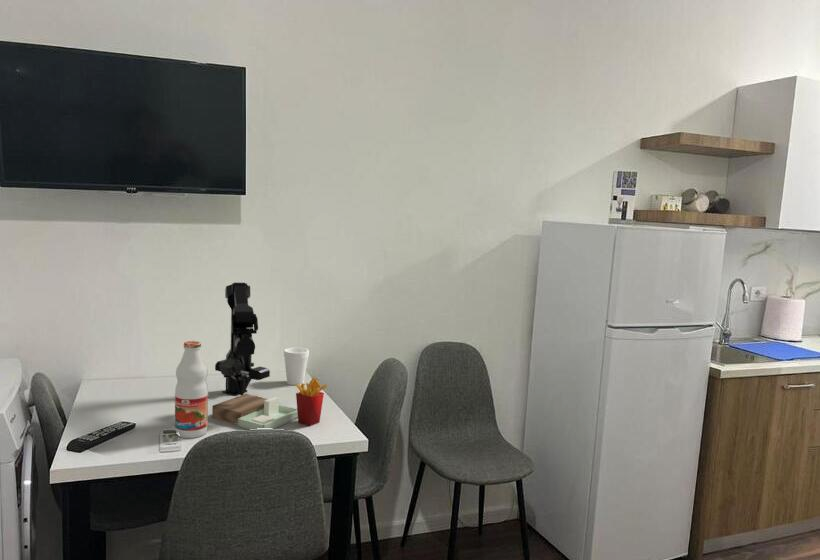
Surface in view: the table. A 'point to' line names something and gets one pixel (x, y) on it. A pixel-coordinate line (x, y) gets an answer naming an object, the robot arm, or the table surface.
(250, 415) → the tray
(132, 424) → the table surface
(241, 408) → the board
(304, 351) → the foam cup
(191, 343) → the fruit juice
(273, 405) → the tile
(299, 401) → the french fries
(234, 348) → the robot arm
